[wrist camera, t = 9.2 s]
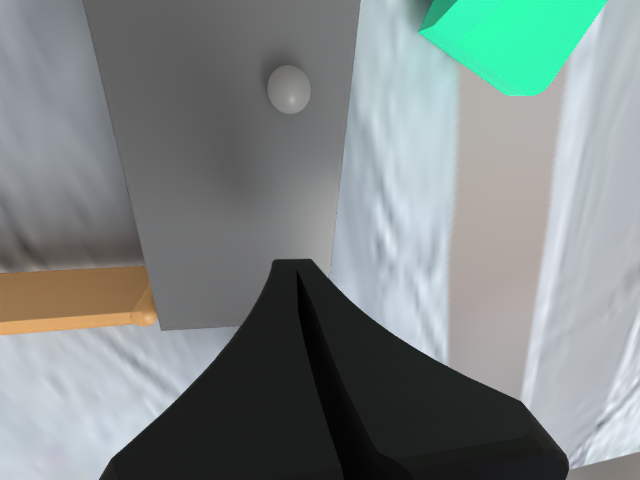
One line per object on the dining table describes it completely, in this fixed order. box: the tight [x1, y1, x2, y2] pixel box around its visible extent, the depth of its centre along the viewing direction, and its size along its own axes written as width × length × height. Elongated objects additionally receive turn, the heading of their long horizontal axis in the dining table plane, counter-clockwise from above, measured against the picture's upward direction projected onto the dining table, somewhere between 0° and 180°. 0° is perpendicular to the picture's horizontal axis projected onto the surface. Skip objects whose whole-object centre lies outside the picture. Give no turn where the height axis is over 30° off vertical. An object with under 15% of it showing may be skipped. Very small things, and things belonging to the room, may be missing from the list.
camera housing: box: [83, 0, 361, 331], centre depth 14 cm, size 17×9×6 cm, turn 175°
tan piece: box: [0, 266, 158, 335], centre depth 16 cm, size 13×2×4 cm, turn 88°
